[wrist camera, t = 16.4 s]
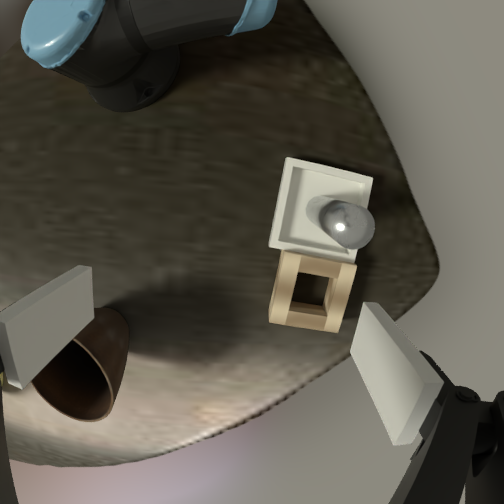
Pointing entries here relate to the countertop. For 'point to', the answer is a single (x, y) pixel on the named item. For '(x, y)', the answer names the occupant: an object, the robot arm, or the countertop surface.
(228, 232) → the countertop surface
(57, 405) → the plant pot
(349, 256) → the tray
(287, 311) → the beige square frame
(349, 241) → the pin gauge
